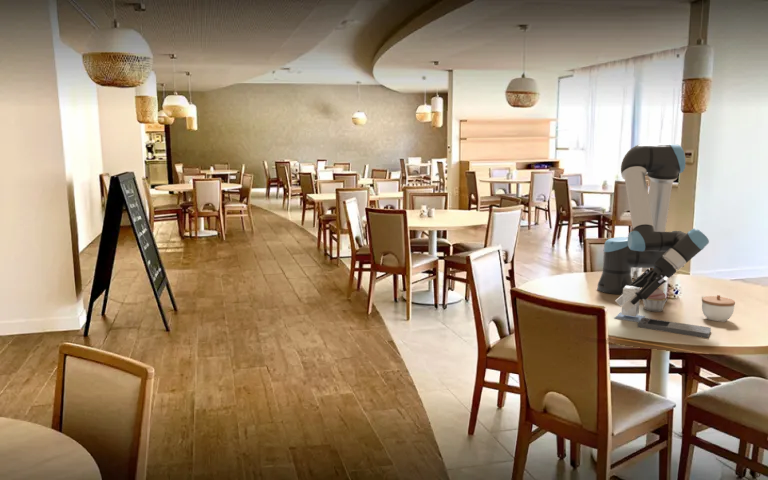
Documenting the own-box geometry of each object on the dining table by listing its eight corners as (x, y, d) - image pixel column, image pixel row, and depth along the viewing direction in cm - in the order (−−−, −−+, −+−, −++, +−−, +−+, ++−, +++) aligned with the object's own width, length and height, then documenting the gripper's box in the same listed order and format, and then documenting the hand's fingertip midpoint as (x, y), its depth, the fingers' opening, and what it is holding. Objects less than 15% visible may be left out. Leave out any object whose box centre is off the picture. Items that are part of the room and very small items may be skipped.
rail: (637, 328, 219) (638, 322, 218) (642, 322, 225) (642, 317, 225) (707, 339, 207) (708, 333, 206) (710, 333, 213) (710, 327, 213)
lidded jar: (694, 316, 234) (696, 292, 232) (721, 315, 235) (723, 291, 233) (711, 324, 223) (713, 299, 222) (739, 324, 224) (742, 298, 223)
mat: (614, 319, 229) (614, 318, 229) (620, 313, 237) (620, 312, 237) (640, 323, 224) (640, 322, 224) (645, 317, 232) (645, 316, 232)
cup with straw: (633, 275, 304) (636, 235, 300) (649, 279, 296) (652, 237, 293) (621, 277, 299) (624, 236, 296) (637, 281, 292) (640, 238, 288)
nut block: (621, 314, 229) (623, 288, 228) (624, 311, 234) (626, 285, 232) (635, 316, 227) (637, 289, 225) (638, 313, 231) (640, 287, 229)
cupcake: (667, 314, 237) (669, 288, 235) (641, 311, 240) (642, 286, 238) (665, 307, 245) (667, 283, 244) (640, 305, 248) (641, 281, 247)
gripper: (687, 276, 217) (636, 320, 220) (665, 265, 236) (619, 306, 240) (673, 261, 216) (622, 306, 220) (652, 251, 236) (606, 292, 239)
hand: (620, 306), depth 230 cm, fingers closed on nut block, 7 cm apart
